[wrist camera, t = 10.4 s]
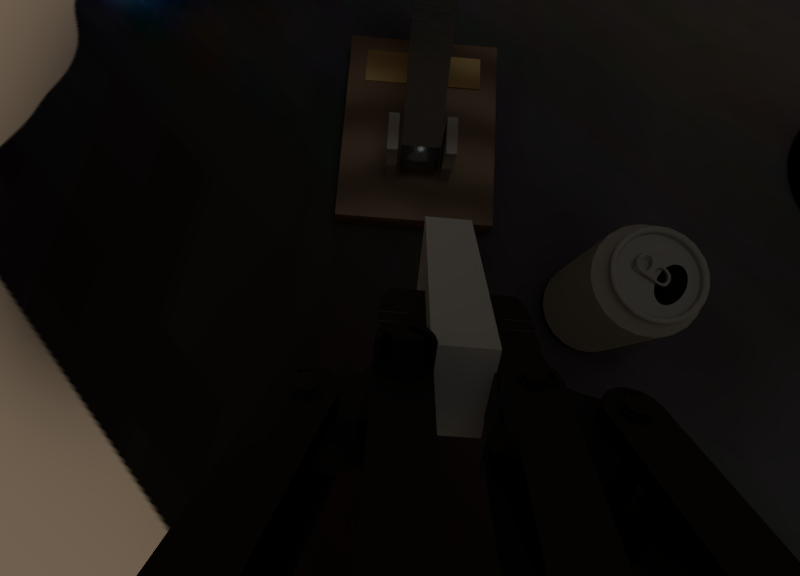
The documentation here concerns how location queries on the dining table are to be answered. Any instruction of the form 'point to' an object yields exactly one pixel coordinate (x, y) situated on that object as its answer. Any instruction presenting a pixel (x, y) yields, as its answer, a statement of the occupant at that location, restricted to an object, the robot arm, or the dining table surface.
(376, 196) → the press base
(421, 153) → the lever
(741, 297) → the dining table surface
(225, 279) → the dining table surface
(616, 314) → the can
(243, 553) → the robot arm
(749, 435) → the dining table surface
